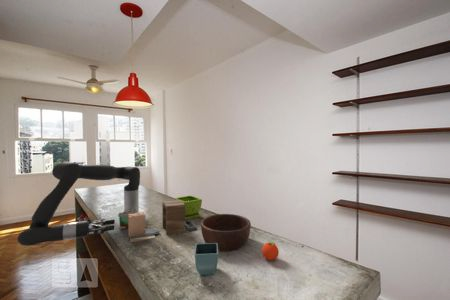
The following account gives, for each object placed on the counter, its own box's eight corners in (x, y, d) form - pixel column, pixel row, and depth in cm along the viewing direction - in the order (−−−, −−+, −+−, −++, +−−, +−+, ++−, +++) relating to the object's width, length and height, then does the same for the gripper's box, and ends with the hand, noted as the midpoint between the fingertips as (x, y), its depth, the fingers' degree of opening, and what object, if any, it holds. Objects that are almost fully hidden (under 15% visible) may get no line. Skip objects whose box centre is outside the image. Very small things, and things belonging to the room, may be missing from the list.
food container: (128, 231, 119) (127, 213, 118) (118, 230, 120) (118, 213, 120) (140, 223, 131) (140, 207, 130) (132, 222, 132) (132, 206, 132)
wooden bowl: (255, 235, 114) (255, 216, 114) (243, 258, 91) (243, 235, 91) (212, 229, 123) (212, 211, 122) (191, 249, 99) (191, 227, 99)
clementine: (267, 252, 96) (267, 237, 96) (282, 257, 92) (282, 241, 92) (259, 259, 90) (259, 243, 90) (274, 265, 86) (274, 248, 85)
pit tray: (182, 223, 130) (182, 221, 130) (190, 222, 133) (190, 220, 132) (188, 231, 120) (188, 228, 120) (196, 229, 122) (196, 226, 122)
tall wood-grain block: (128, 233, 114) (128, 213, 114) (157, 228, 121) (157, 209, 121) (128, 238, 108) (128, 217, 108) (159, 233, 115) (159, 213, 115)
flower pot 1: (184, 222, 133) (184, 202, 133) (173, 216, 144) (173, 197, 144) (202, 217, 143) (202, 198, 142) (191, 212, 153) (191, 194, 153)
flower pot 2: (195, 265, 86) (195, 243, 85) (217, 264, 86) (217, 242, 86) (194, 278, 77) (194, 254, 77) (218, 277, 78) (218, 253, 77)
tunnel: (162, 227, 125) (162, 201, 125) (179, 224, 129) (179, 199, 129) (166, 235, 114) (166, 206, 114) (184, 231, 119) (184, 204, 118)
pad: (128, 232, 118) (128, 231, 118) (151, 228, 123) (151, 228, 123) (130, 242, 105) (130, 242, 105) (155, 237, 111) (155, 237, 111)
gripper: (73, 227, 94) (114, 221, 102) (78, 217, 107) (114, 212, 114) (73, 244, 95) (114, 237, 102) (78, 232, 107) (114, 226, 115)
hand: (114, 224), depth 108 cm, fingers open, 8 cm apart
